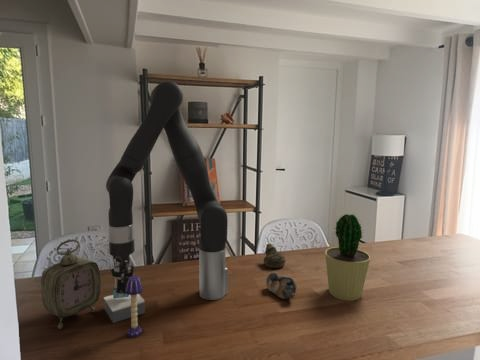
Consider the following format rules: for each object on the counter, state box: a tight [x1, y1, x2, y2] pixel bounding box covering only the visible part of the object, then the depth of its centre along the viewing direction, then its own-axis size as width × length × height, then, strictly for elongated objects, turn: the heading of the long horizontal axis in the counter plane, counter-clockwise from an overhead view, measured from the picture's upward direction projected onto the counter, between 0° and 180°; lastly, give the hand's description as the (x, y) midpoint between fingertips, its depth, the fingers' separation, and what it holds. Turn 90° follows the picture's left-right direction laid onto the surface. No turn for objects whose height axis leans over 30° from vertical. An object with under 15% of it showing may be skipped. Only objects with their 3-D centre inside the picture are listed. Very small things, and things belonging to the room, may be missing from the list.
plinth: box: [103, 293, 146, 324], centre depth 106 cm, size 10×10×4 cm
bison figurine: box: [266, 272, 298, 300], centre depth 117 cm, size 12×7×10 cm
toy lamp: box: [125, 275, 144, 338], centre depth 93 cm, size 5×5×17 cm
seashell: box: [263, 243, 286, 269], centre depth 143 cm, size 11×12×10 cm
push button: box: [110, 266, 129, 298], centre depth 104 cm, size 7×5×10 cm
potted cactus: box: [324, 212, 371, 302], centre depth 118 cm, size 15×15×30 cm
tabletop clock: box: [40, 239, 101, 330], centre depth 100 cm, size 14×9×25 cm, turn 148°
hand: (123, 289), depth 105 cm, fingers closed on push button, 3 cm apart
